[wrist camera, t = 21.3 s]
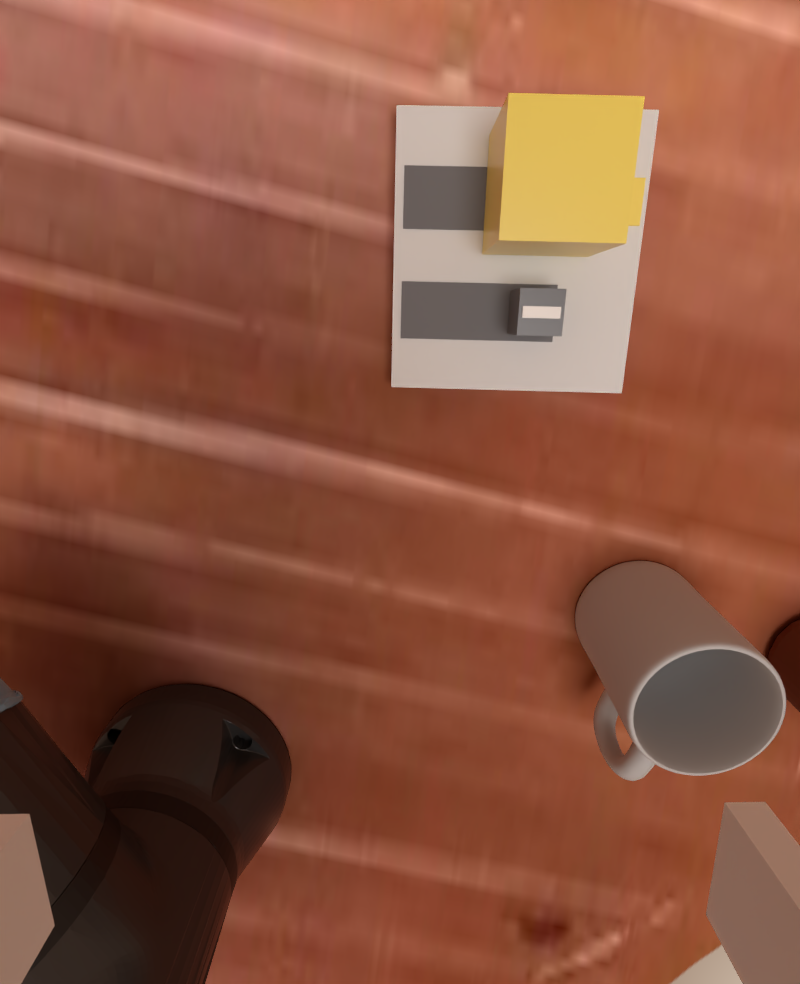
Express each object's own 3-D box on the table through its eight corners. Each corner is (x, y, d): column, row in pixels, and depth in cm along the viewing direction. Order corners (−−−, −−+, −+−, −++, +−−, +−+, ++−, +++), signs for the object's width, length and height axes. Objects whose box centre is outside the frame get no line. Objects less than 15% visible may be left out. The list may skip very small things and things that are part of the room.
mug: (609, 540, 40) (678, 619, 29) (717, 585, 41) (822, 678, 30) (531, 678, 43) (568, 793, 33) (632, 717, 44) (700, 842, 33)
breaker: (507, 334, 34) (517, 335, 31) (510, 290, 33) (520, 287, 30) (548, 335, 34) (562, 336, 31) (552, 291, 33) (566, 288, 30)
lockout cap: (482, 254, 33) (498, 240, 27) (489, 135, 31) (508, 92, 25) (587, 257, 33) (626, 243, 27) (600, 137, 31) (644, 96, 25)
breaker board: (392, 383, 37) (391, 387, 35) (397, 117, 33) (396, 103, 31) (610, 389, 37) (622, 393, 35) (644, 122, 33) (660, 108, 31)
